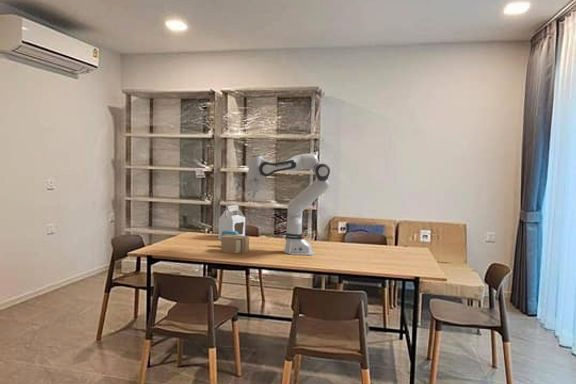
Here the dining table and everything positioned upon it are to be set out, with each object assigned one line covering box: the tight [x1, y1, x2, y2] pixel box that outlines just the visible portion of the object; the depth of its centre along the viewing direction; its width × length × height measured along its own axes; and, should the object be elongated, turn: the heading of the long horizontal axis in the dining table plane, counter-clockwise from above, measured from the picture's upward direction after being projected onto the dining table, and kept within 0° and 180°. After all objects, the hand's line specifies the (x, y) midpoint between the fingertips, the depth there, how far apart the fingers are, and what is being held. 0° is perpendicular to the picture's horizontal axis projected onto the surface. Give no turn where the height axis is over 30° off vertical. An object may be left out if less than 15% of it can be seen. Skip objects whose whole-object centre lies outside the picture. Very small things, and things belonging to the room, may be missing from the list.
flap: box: [235, 239, 242, 254], centre depth 307 cm, size 2×12×8 cm, turn 169°
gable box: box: [218, 204, 246, 241], centre depth 365 cm, size 22×13×28 cm, turn 158°
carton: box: [220, 234, 250, 255], centre depth 313 cm, size 18×10×11 cm, turn 79°
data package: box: [222, 230, 238, 236], centre depth 329 cm, size 12×4×12 cm, turn 74°
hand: (250, 196), depth 312 cm, fingers open, 8 cm apart
